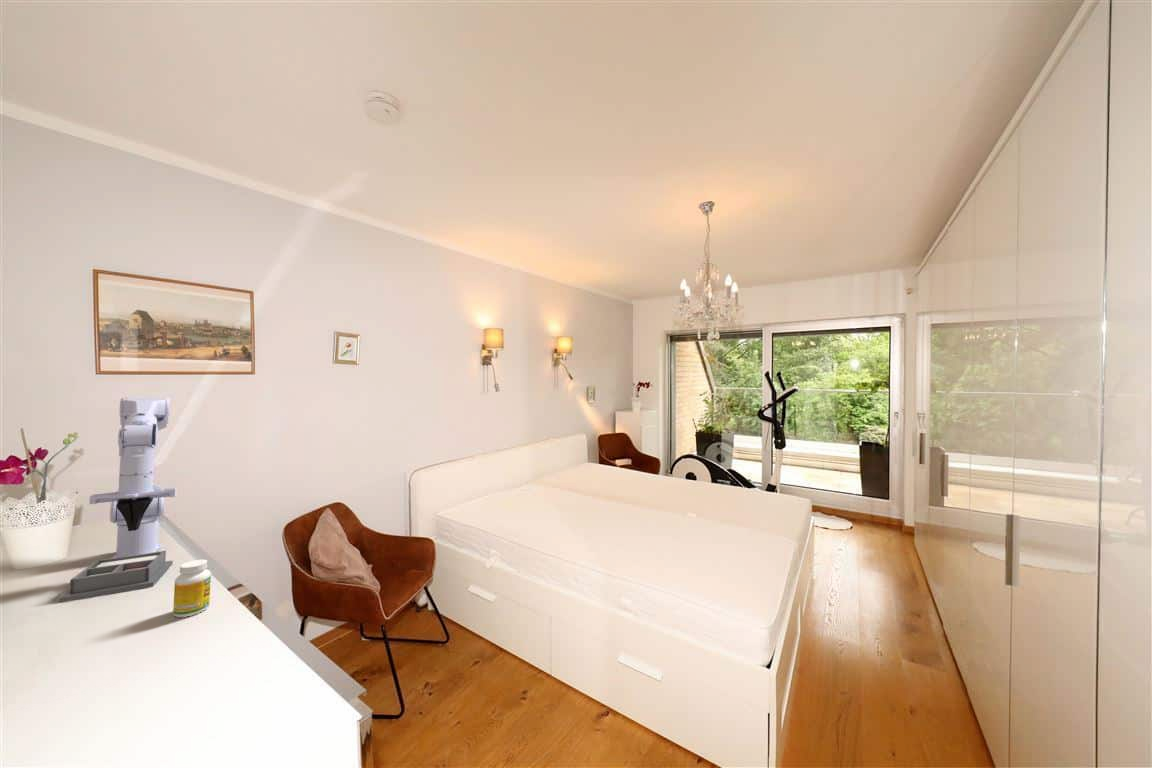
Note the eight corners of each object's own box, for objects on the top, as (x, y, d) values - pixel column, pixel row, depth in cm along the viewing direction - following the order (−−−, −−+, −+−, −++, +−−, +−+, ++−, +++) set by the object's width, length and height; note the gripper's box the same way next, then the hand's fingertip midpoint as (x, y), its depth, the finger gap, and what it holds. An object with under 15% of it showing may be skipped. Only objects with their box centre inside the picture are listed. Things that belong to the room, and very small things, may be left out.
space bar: (100, 569, 95) (101, 563, 95) (157, 561, 100) (158, 555, 100) (92, 576, 92) (93, 569, 92) (152, 567, 97) (152, 560, 97)
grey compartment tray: (90, 576, 96) (91, 559, 96) (172, 564, 103) (173, 548, 103) (58, 602, 84) (59, 583, 84) (153, 586, 91) (154, 568, 91)
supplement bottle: (174, 609, 82) (177, 562, 82) (210, 601, 85) (212, 555, 85) (171, 621, 78) (173, 571, 78) (208, 612, 81) (210, 564, 81)
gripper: (84, 479, 92) (81, 539, 91) (172, 473, 99) (169, 529, 99) (98, 474, 98) (95, 531, 97) (180, 469, 105) (178, 521, 105)
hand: (133, 529), depth 98 cm, fingers closed
